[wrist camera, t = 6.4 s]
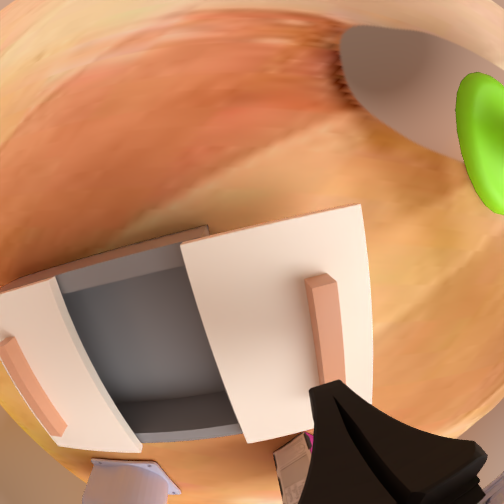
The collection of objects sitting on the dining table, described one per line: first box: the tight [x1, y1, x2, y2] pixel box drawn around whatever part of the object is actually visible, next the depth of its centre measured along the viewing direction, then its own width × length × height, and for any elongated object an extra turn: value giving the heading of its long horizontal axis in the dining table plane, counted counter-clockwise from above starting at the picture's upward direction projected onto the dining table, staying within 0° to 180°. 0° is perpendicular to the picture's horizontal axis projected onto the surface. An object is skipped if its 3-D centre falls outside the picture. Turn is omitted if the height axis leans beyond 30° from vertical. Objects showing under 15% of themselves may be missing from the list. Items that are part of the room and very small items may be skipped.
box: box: [0, 225, 243, 443], centre depth 18 cm, size 18×14×5 cm
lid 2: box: [180, 203, 373, 443], centre depth 14 cm, size 9×14×2 cm, turn 13°
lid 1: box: [0, 276, 143, 453], centre depth 14 cm, size 9×14×2 cm, turn 13°
